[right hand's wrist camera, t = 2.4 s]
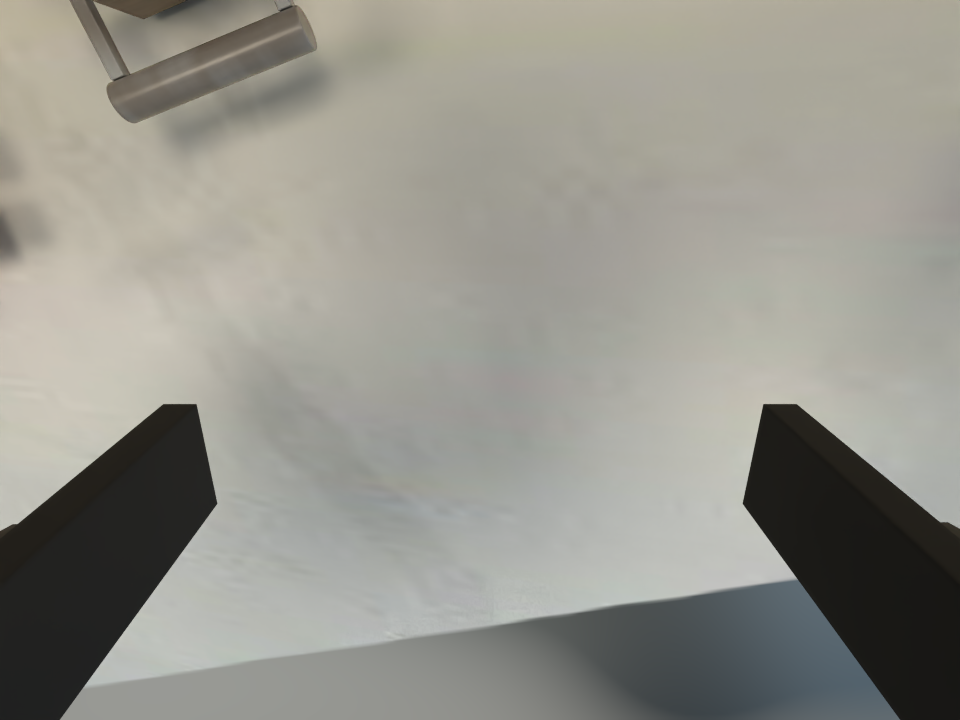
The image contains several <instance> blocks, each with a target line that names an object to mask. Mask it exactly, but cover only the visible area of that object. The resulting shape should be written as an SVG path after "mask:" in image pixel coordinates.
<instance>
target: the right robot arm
mask: <svg viewBox="0 0 960 720" xmlns="http://www.w3.org/2000/svg"><path fill="white" fill-rule="evenodd" d="M216 505H217V500H216V495H215V490H214V486H213V481H212V476H211V471H210V467H209V462H208V457H207V452H206V447H205V443H204V438H203V433H202V428H201V423H200V419H199V414H198V409H197V404H163V405H162V406H161V407H159V408H158V409H157V410H156V411H155V412H153V413H152V414H151V415H150V416H149V417H147V418H146V419H145V420H144V421H142V422H141V423H140V424H139V425H138V426H136V427H135V428H134V429H133V430H132V431H130V432H129V433H128V434H127V435H125V436H124V437H123V438H122V439H121V440H119V441H118V442H117V443H116V444H115V445H113V446H112V447H111V448H110V449H108V450H107V451H106V452H105V453H104V454H102V455H101V456H100V457H99V458H98V459H96V460H95V461H94V462H93V463H91V464H90V465H89V466H88V467H87V468H85V469H84V470H83V471H82V472H81V473H79V474H78V475H77V476H76V477H74V478H73V479H72V480H71V481H70V482H68V483H67V484H66V485H65V486H64V487H62V488H61V489H60V490H59V491H57V492H56V493H55V494H54V495H53V496H51V497H50V498H49V499H48V500H47V501H45V502H44V503H43V504H42V505H40V506H39V507H38V508H37V509H36V510H34V511H33V512H32V513H31V514H29V515H28V516H27V517H26V518H25V519H23V520H22V521H21V522H20V523H19V524H13V525H11V526H9V527H7V528H5V529H3V530H1V531H0V720H60V719H61V717H62V716H63V714H64V713H65V712H66V710H67V709H68V708H69V706H70V705H71V704H72V702H73V701H74V699H75V698H76V697H77V695H78V694H79V693H80V691H81V690H82V688H83V687H84V686H85V684H86V683H87V682H88V680H89V679H90V678H91V676H92V675H93V673H94V672H95V671H96V669H97V668H98V667H99V665H100V664H101V662H102V661H103V660H104V658H105V657H106V656H107V654H108V653H109V651H110V650H111V649H112V647H113V646H114V645H115V643H116V642H117V641H118V639H119V638H120V636H121V635H122V634H123V632H124V631H125V630H126V628H127V627H128V625H129V624H130V623H131V621H132V620H133V619H134V617H135V616H136V614H137V613H138V612H139V610H140V609H141V608H142V606H143V605H144V603H145V602H146V601H147V599H148V598H149V597H150V595H151V594H152V593H153V591H154V590H155V588H156V587H157V586H158V584H159V583H160V582H161V580H162V579H163V577H164V576H165V575H166V573H167V572H168V571H169V569H170V568H171V566H172V565H173V564H174V562H175V561H176V560H177V558H178V557H179V556H180V554H181V553H182V551H183V550H184V549H185V547H186V546H187V545H188V543H189V542H190V540H191V539H192V538H193V536H194V535H195V534H196V532H197V531H198V529H199V528H200V527H201V525H202V524H203V523H204V521H205V520H206V518H207V517H208V516H209V514H210V513H211V512H212V510H213V509H214V508H215V506H216ZM743 505H744V506H745V508H746V509H747V510H748V512H749V513H750V514H751V516H752V517H753V518H754V520H755V521H756V523H757V524H758V525H759V527H760V528H761V529H762V531H763V532H764V534H765V535H766V536H767V538H768V539H769V540H770V542H771V543H772V545H773V546H774V547H775V549H776V550H777V551H778V553H779V554H780V556H781V557H782V558H783V560H784V561H785V562H786V564H787V565H788V566H789V568H790V569H791V571H792V572H793V573H794V575H795V576H796V577H797V579H798V580H799V582H800V583H801V584H802V586H803V587H804V588H805V590H806V591H807V593H808V594H809V595H810V597H811V598H812V599H813V601H814V602H815V603H816V605H817V606H818V608H819V609H820V610H821V612H822V613H823V614H824V616H825V617H826V618H827V620H828V621H829V623H830V624H831V625H832V627H833V628H834V630H835V631H836V632H837V634H838V635H839V636H840V638H841V639H842V641H843V642H844V643H845V645H846V646H847V647H848V649H849V650H850V651H851V653H852V654H853V656H854V657H855V658H856V660H857V661H858V662H859V664H860V665H861V667H862V668H863V669H864V671H865V672H866V673H867V675H868V676H869V677H870V679H871V680H872V682H873V683H874V684H875V686H876V687H877V689H878V690H879V691H880V693H881V694H882V695H883V697H884V698H885V699H886V701H887V702H888V704H889V705H890V706H891V708H892V709H893V710H894V712H895V713H896V715H897V716H898V717H899V719H900V720H960V529H959V528H957V527H955V526H954V525H952V524H950V523H948V522H939V521H938V520H937V519H935V518H934V517H933V516H932V515H930V514H929V513H928V512H927V511H926V510H924V509H923V508H922V507H921V506H920V505H918V504H917V503H916V502H915V501H913V500H912V499H911V498H910V497H909V496H907V495H906V494H905V493H904V492H903V491H901V490H900V489H899V488H898V487H896V486H895V485H894V484H893V483H892V482H890V481H889V480H888V479H887V478H886V477H884V476H883V475H882V474H881V473H879V472H878V471H877V470H876V469H875V468H873V467H872V466H871V465H870V464H869V463H867V462H866V461H865V460H864V459H862V458H861V457H860V456H859V455H858V454H856V453H855V452H854V451H853V450H852V449H850V448H849V447H848V446H847V445H845V444H844V443H843V442H842V441H841V440H839V439H838V438H837V437H836V436H835V435H833V434H832V433H831V432H830V431H828V430H827V429H826V428H825V427H824V426H822V425H821V424H820V423H819V422H818V421H816V420H815V419H814V418H813V417H811V416H810V415H809V414H808V413H807V412H805V411H804V410H803V409H802V408H801V407H799V406H798V405H797V404H763V409H762V414H761V419H760V423H759V428H758V433H757V438H756V443H755V447H754V452H753V457H752V462H751V467H750V471H749V476H748V481H747V486H746V490H745V495H744V500H743Z"/></svg>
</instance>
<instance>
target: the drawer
mask: <svg viewBox="0 0 960 720" xmlns="http://www.w3.org/2000/svg"><path fill="white" fill-rule="evenodd" d="M93 1H94V2H97V3H100V4H103V5H106V6H108V7H111V8H114V9H117V10H119V11H122V12H125V13H128V14H131V15H133V16H136V17H139V18H142V19H145V18H147V17H150V16H152V15H154V14H157V13H159V12H161V11H164V10H166V9H168V8H171V7H173V6H175V5H178V4H180V3H182V2H185V1H187V0H70V2H71V4H72V6H73V8H74V10H75V12H76V13H77V15H78V17H79V19H80V21H81V23H82V25H83V27H84V29H85V31H86V33H87V34H88V36H89V38H90V40H91V42H92V44H93V46H94V48H95V50H96V52H97V53H98V55H99V57H100V59H101V61H102V63H103V65H104V67H105V69H106V71H107V73H108V74H109V76H110V78H111V80H113V82H111V83H109V84H108V85H107V94H108V97H109V100H110V102H111V103H112V105H113V107H114V108H115V110H116V111H117V112H118V113H119V114H120V115H121V116H122V117H123V118H124V119H125V120H127V121H128V122H131V123H137V122H140V121H142V120H144V119H147V118H149V117H152V116H154V115H157V114H159V113H162V112H164V111H167V110H169V109H172V108H174V107H177V106H179V105H182V104H184V103H187V102H189V101H192V100H194V99H196V98H199V97H201V96H204V95H206V94H209V93H211V92H214V91H216V90H219V89H221V88H224V87H226V86H229V85H231V84H234V83H236V82H239V81H241V80H244V79H246V78H248V77H251V76H253V75H256V74H258V73H261V72H263V71H266V70H268V69H271V68H273V67H276V66H278V65H281V64H283V63H286V62H288V61H291V60H293V59H295V58H298V57H300V56H303V55H305V54H308V53H310V52H313V51H315V50H317V42H316V39H315V36H314V33H313V30H312V28H311V26H310V23H309V21H308V19H307V17H306V16H305V14H304V12H303V11H302V9H301V8H300V7H299V6H298V5H294V2H293V0H274V1H275V4H276V6H277V9H278V10H279V11H280V12H278V13H276V14H274V15H271V16H269V17H266V18H264V19H262V20H259V21H257V22H254V23H252V24H250V25H247V26H245V27H242V28H240V29H238V30H235V31H233V32H230V33H228V34H226V35H223V36H221V37H218V38H216V39H214V40H211V41H209V42H207V43H204V44H202V45H199V46H197V47H195V48H192V49H190V50H187V51H185V52H183V53H180V54H178V55H175V56H173V57H171V58H168V59H166V60H163V61H161V62H159V63H156V64H154V65H151V66H149V67H147V68H144V69H142V70H139V71H137V72H135V73H132V74H130V73H129V71H128V69H127V67H126V65H125V63H124V61H123V59H122V57H121V55H120V53H119V51H118V49H117V47H116V45H115V43H114V41H113V40H112V38H111V36H110V34H109V32H108V30H107V28H106V26H105V24H104V22H103V20H102V18H101V16H100V14H99V12H98V10H97V8H96V6H95V4H94V2H93Z"/></svg>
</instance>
